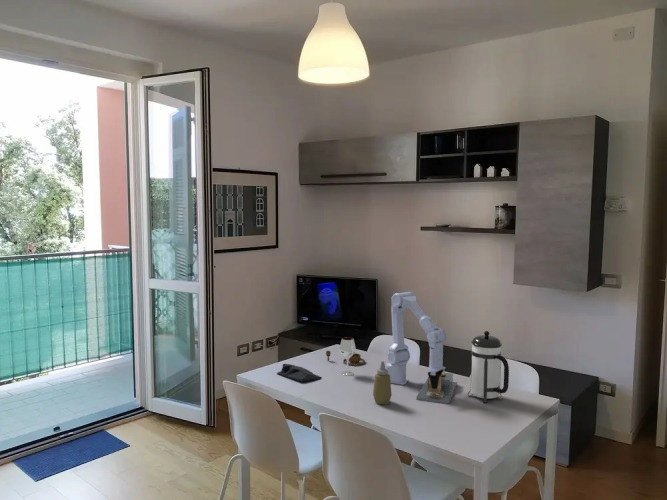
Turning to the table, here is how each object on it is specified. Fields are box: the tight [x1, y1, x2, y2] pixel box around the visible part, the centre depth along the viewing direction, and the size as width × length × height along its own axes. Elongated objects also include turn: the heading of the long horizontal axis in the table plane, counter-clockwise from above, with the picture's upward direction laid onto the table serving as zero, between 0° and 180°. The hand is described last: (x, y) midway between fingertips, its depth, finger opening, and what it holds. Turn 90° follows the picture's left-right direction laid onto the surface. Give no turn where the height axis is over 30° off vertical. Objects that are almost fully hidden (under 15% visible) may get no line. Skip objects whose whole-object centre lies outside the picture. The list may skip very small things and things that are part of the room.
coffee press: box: [467, 330, 510, 404], centre depth 219 cm, size 17×16×30 cm
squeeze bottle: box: [372, 360, 393, 406], centre depth 215 cm, size 8×8×18 cm
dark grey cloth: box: [276, 363, 322, 383], centre depth 250 cm, size 15×22×5 cm
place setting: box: [325, 350, 366, 367], centre depth 275 cm, size 18×20×6 cm
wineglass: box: [339, 336, 357, 377], centre depth 253 cm, size 8×8×18 cm
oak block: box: [429, 376, 441, 393], centre depth 222 cm, size 4×4×6 cm
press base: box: [415, 372, 458, 405], centre depth 228 cm, size 14×26×5 cm, turn 159°
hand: (435, 386), depth 223 cm, fingers closed on oak block, 4 cm apart
